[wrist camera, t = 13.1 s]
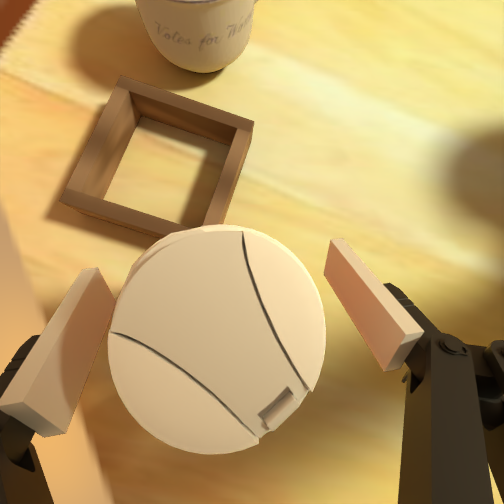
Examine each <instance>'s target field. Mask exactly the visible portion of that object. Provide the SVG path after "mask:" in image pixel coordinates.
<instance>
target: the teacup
mask: <svg viewBox="0 0 504 504" xmlns="http://www.w3.org/2000/svg"><path fill="white" fill-rule="evenodd" d="M257 1H258V0H135V2H136V4H137V7H138V10H139V13H140V15H141V18H142V20H143V23H144V26H145V28H146V30H147V33H148V35H149V37H150V39H151V40H152V42H153V44H154V45H155V47H156V48H157V50H158V51H159V52H160V53H161V54H162V55H163V56H164V57H165V58H166V59H167V60H169V61H170V62H171V63H173V64H175V65H177V66H178V67H181V68H183V69H186V70H190V71H193V72H198V73H209V72H214V71H217V70H220V69H222V68H224V67H226V66H227V65H229V64H231V63H232V62H234V61H235V60H236V59H237V58H238V57H239V56H240V55H241V53H242V52H243V50H244V49H245V47H246V45H247V43H248V40H249V37H250V33H251V28H252V21H253V11H254V4H255V3H256V2H257Z"/></svg>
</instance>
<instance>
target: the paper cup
mask: <svg viewBox="0 0 504 504" xmlns="http://www.w3.org/2000/svg"><path fill="white" fill-rule="evenodd" d="M325 347H326V325H325V318H324V311H323V305H322V302H321V299H320V296H319V293H318V290H317V288H316V286H315V284H314V281H313V279H312V277H311V275H310V274H309V272H308V271H307V270H306V268H305V267H304V265H303V264H302V262H301V261H300V260H299V259H298V258H297V257H296V256H295V255H294V254H293V253H292V252H291V251H290V250H289V249H288V248H286V247H285V246H284V245H282V244H281V243H280V242H279V241H277V240H275V239H273V238H271V237H270V236H268V235H266V234H264V233H261V232H259V231H256V230H253V229H251V228H246V227H241V226H237V225H222V224H219V225H208V226H202V227H198V228H193V229H189V230H185V231H179V232H174V233H171V234H169V235H167V236H166V237H164V238H162V239H161V240H159V241H157V242H156V243H155V244H153V245H152V246H151V247H150V248H149V249H147V250H146V251H145V252H144V253H143V254H142V255H141V256H140V257H139V258H138V259H137V261H136V262H135V263H134V264H133V265H132V267H131V269H130V272H129V274H128V277H127V279H126V281H125V284H124V286H123V288H122V290H121V292H120V295H119V297H118V299H117V302H116V306H115V309H114V313H113V316H112V324H111V328H110V330H109V333H108V361H109V366H110V371H111V376H112V379H113V382H114V384H115V387H116V390H117V392H118V395H119V397H120V398H121V400H122V402H123V403H124V405H125V407H126V409H127V410H128V412H129V413H130V414H131V415H132V416H133V417H134V419H135V420H136V421H137V422H138V423H139V424H140V425H141V426H142V427H143V428H144V429H145V430H147V431H148V432H149V433H150V434H151V435H153V436H154V437H155V438H157V439H159V440H161V441H163V442H164V443H166V444H168V445H170V446H172V447H175V448H178V449H181V450H184V451H187V452H193V453H199V454H227V453H232V452H237V451H242V450H245V449H247V448H250V447H252V446H255V445H257V444H259V438H261V437H262V436H263V435H264V434H266V433H268V432H269V431H272V432H273V431H274V430H275V429H276V428H278V427H279V426H280V425H281V424H282V423H283V422H284V421H285V420H286V419H287V418H288V417H289V416H290V415H291V414H292V413H293V412H294V411H295V410H296V409H297V408H298V407H299V406H300V404H301V402H302V401H303V399H304V398H305V396H306V395H307V393H308V392H309V390H310V391H311V392H313V390H314V387H315V385H316V383H317V381H318V378H319V375H320V372H321V368H322V365H323V361H324V354H325Z"/></svg>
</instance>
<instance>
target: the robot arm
mask: <svg viewBox="0 0 504 504" xmlns="http://www.w3.org/2000/svg"><path fill="white" fill-rule="evenodd" d="M324 276H325V277H326V279H327V281H328V282H329V284H330V285H331V287H332V289H333V290H334V292H335V294H336V295H337V297H338V298H339V300H340V302H341V303H342V305H343V306H344V308H345V310H346V311H347V313H348V315H349V316H350V318H351V319H352V321H353V323H354V324H355V326H356V327H357V329H358V331H359V332H360V334H361V336H362V337H363V339H364V340H365V342H366V344H367V345H368V347H369V349H370V350H371V352H372V353H373V355H374V357H375V358H376V360H377V361H378V363H379V365H380V366H381V368H382V370H383V371H384V372H386V371H391V370H397V369H400V368H401V366H402V365H403V363H404V362H405V363H406V364H407V366H408V367H409V370H408V371H407V373H406V374H405V376H404V377H403V379H402V382H403V383H405V381H406V380H407V387H406V400H405V414H404V427H403V441H402V454H401V467H400V481H399V494H398V504H494V500H493V493H492V487H491V480H490V473H489V466H490V469H491V472H492V474H493V477H494V480H495V482H496V485H497V488H498V490H499V493H500V496H501V498H502V501H503V504H504V341H503V340H496V341H493V342H492V343H491V344H490V345H489V346H488V347H482V346H475V345H467V344H465V343H463V342H462V341H461V340H459V339H458V338H456V337H454V336H452V335H449V334H445V333H441V332H440V331H439V330H438V329H437V328H436V327H435V326H434V325H433V324H432V323H431V322H430V321H429V320H428V318H427V317H426V316H425V315H424V314H423V313H422V312H421V311H420V310H419V309H418V308H417V307H416V306H414V304H413V302H412V301H411V300H410V299H408V297H407V296H406V295H405V294H404V293H403V292H402V291H401V290H400V289H399V288H397V287H396V286H394V285H392V284H391V283H386V284H382V283H381V281H380V280H379V279H378V278H377V277H376V276H375V275H374V273H373V272H372V271H371V270H370V269H369V268H368V267H367V265H366V264H365V263H364V262H363V261H362V260H361V259H360V258H359V256H358V255H357V254H356V253H355V252H354V251H353V250H352V248H351V247H350V246H349V245H348V244H347V243H346V242H345V240H344V239H343V238H340V239H332V240H330V245H329V250H328V255H327V260H326V265H325V270H324ZM115 305H116V301H115V299H114V297H113V295H112V293H111V291H110V290H109V288H108V286H107V284H106V282H105V280H104V278H103V276H102V275H101V273H100V271H99V269H98V267H97V268H88V269H82V271H81V272H80V274H79V275H78V277H77V278H76V280H75V282H74V283H73V285H72V286H71V288H70V289H69V291H68V293H67V294H66V296H65V297H64V299H63V301H62V302H61V304H60V305H59V307H58V308H57V310H56V312H55V313H54V315H53V316H52V318H51V319H50V321H49V323H48V324H47V326H46V327H45V329H44V331H43V332H42V334H41V335H34V336H32V337H31V338H30V339H28V340H27V341H26V342H25V343H24V344H23V345H22V346H21V347H20V348H19V349H18V351H17V352H16V354H15V355H14V357H13V358H12V361H11V362H10V363H9V364H8V365H7V367H6V369H5V370H4V371H5V372H4V373H2V374H1V376H0V504H54V502H53V499H52V496H51V494H50V491H49V488H48V485H47V482H46V479H45V476H44V473H43V470H42V467H41V465H40V461H39V459H38V456H37V453H36V450H35V447H34V446H33V444H32V443H31V442H30V441H31V440H32V437H33V435H34V433H35V432H36V433H37V434H39V435H41V436H42V437H50V436H55V435H60V434H65V433H66V432H67V429H68V426H69V424H70V421H71V419H72V416H73V414H74V411H75V408H76V406H77V403H78V401H79V398H80V395H81V393H82V390H83V388H84V385H85V383H86V380H87V377H88V375H89V372H90V370H91V367H92V364H93V362H94V359H95V357H96V354H97V351H98V349H99V346H100V344H101V341H102V339H103V336H104V333H105V331H106V328H107V326H108V323H109V320H110V318H111V315H112V313H113V310H114V308H115ZM488 464H489V466H488Z"/></svg>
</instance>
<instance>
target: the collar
mask: <svg viewBox="0 0 504 504" xmlns="http://www.w3.org/2000/svg"><path fill="white" fill-rule="evenodd" d="M141 116H144V117H147V118H150V119H153V120H156V121H159V122H162V123H165V124H168V125H171V126H174V127H176V128H179V129H182V130H185V131H188V132H191V133H194V134H197V135H200V136H203V137H206V138H209V139H212V140H215V141H217V142H220V143H223V144H226V145H229V146H231V148H230V151H229V153H228V156H227V159H226V162H225V164H224V167H223V170H222V173H221V175H220V178H219V181H218V184H217V187H216V189H215V192H214V195H213V198H212V200H211V203H210V206H209V209H208V211H207V214H206V217H205V220H204V223H203V225H202V226H208V225H219V224H222V225H223V222H224V219H225V216H226V213H227V210H228V207H229V204H230V202H231V199H232V196H233V193H234V190H235V187H236V184H237V181H238V178H239V175H240V173H241V170H242V167H243V164H244V161H245V158H246V155H247V152H248V149H249V146H250V144H251V139H252V133H253V126H254V121H252V120H249V119H246V118H243V117H240V116H237V115H234V114H231V113H229V112H226V111H223V110H220V109H217V108H214V107H211V106H208V105H205V104H203V103H200V102H197V101H194V100H191V99H188V98H185V97H182V96H180V95H177V94H174V93H171V92H168V91H165V90H162V89H159V88H157V87H154V86H151V85H148V84H145V83H142V82H139V81H136V80H134V79H131V78H128V77H125V76H122V75H121V76H120V78H119V80H118V82H117V84H116V86H115V88H114V90H113V92H112V94H111V96H110V98H109V100H108V103H107V105H106V107H105V109H104V111H103V113H102V115H101V117H100V119H99V121H98V123H97V125H96V127H95V129H94V131H93V133H92V135H91V137H90V139H89V141H88V143H87V145H86V147H85V149H84V151H83V153H82V156H81V158H80V160H79V162H78V164H77V166H76V168H75V170H74V172H73V174H72V176H71V178H70V180H69V182H68V184H67V186H66V188H65V190H64V192H63V194H62V196H61V198H60V200H59V201H60V202H61V203H63V204H65V205H67V206H69V207H71V208H73V209H75V210H77V211H78V212H80V213H82V214H86V215H89V216H92V217H95V218H98V219H101V220H104V221H108V222H111V223H114V224H117V225H120V226H123V227H126V228H129V229H133V230H136V231H139V232H142V233H145V234H148V235H151V236H155V237H158V238H161V239H162V238H164V237H166V236H167V235H169V234H171V233H174V232H179V231H185V230H189V229H192V228H189V227H186V226H183V225H180V224H177V223H174V222H170V221H167V220H164V219H161V218H158V217H155V216H152V215H149V214H146V213H143V212H139V211H136V210H133V209H130V208H127V207H124V206H121V205H118V204H115V203H112V202H108V201H105V200H103V198H104V196H105V194H106V192H107V190H108V187H109V185H110V183H111V181H112V179H113V176H114V174H115V172H116V170H117V168H118V165H119V163H120V161H121V159H122V157H123V154H124V152H125V150H126V148H127V146H128V143H129V141H130V139H131V137H132V135H133V132H134V130H135V128H136V126H137V124H138V121H139V119H140V117H141Z"/></svg>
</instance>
